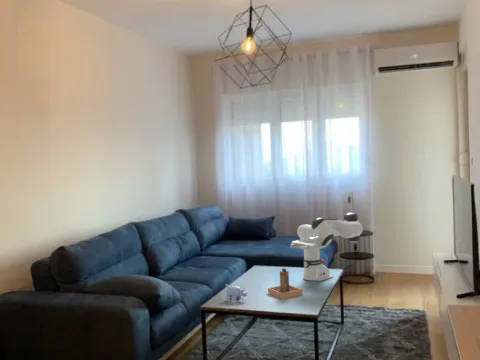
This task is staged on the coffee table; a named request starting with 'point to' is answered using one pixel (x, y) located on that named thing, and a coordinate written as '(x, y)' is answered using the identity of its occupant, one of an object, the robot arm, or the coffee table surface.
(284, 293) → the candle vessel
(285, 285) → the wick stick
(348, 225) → the robot arm
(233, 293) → the hippopotamus toy
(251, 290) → the coffee table surface
